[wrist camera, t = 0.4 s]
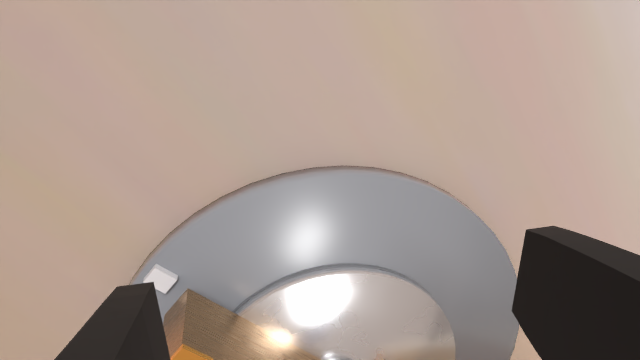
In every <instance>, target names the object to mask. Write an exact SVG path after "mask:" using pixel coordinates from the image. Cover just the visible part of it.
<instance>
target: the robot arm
mask: <svg viewBox="0 0 640 360" xmlns="http://www.w3.org/2000/svg"><path fill="white" fill-rule="evenodd" d="M512 313H513V314H514V316H515V318H516V319H517V321H518V323H519V324H520V326H521V328H522V329H523V331H524V333H525V334H526V336H527V338H528V339H529V341H530V342H531V344H532V345H533V347H534V348H535V350H536V352H537V353H538V355H539V356H540V357H541V359H542V360H640V255H637V254H634V253H632V252H629V251H626V250H624V249H621V248H618V247H616V246H613V245H610V244H608V243H605V242H602V241H599V240H597V239H594V238H591V237H588V236H585V235H582V234H579V233H576V232H573V231H570V230H567V229H563V228H559V227H556V226H549V227H542V228H535V229H528V230H526V233H525V239H524V244H523V250H522V255H521V261H520V266H519V272H518V277H517V283H516V289H515V294H514V300H513V305H512ZM54 360H171V359H170V355H169V350H168V345H167V341H166V336H165V332H164V327H163V323H162V318H161V313H160V309H159V304H158V300H157V295H156V290H155V286H154V282H148V283H141V284H134V285H127V286H119V287H116V289H115V290H114V291H113V292H112V293H111V294H110V295H109V297H108V298H107V299H106V300H105V301H104V302H103V303H102V305H101V306H100V307H99V308H98V309H97V310H96V312H95V313H94V314H93V315H92V316H91V318H90V319H89V320H88V321H87V322H86V323H85V325H84V326H83V327H82V328H81V329H80V331H79V332H78V333H77V334H76V335H75V336H74V338H73V339H72V340H71V341H70V342H69V343H68V345H67V346H66V347H65V348H64V349H63V350H62V352H61V353H60V354H59V355H58V356H57V357H56V358H55V359H54Z"/></svg>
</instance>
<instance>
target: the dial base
mask: <svg viewBox="0 0 640 360" xmlns="http://www.w3.org/2000/svg"><path fill="white" fill-rule="evenodd" d="M340 263H360V264H368V265H376V266H380V267H384V268H388V269H391V270H394V271H396V272H399V273H401V274H404V275H406V276H407V277H409V278H411V279H412V280H414V281H416V282H417V283H419V284H420V285H421V286H422V287H423V288H425V289H426V290H427V291H428V292H429V293H430V294H431V296H432V297H433V298H434V299H435V300H436V302H437V303H438V305H439V306H440V308H441V309H442V311H443V312H444V314H445V316H446V318H447V319H448V321H449V323H450V326H451V328H452V331H453V334H454V340H455V360H510V357H511V355H512V352H513V350H514V347H515V342H516V338H517V334H518V330H519V323H518V321H517V319H516V318H515V316H514V314H513V313H512V305H513V300H514V294H515V289H516V283H517V278H516V274H515V270H514V268H513V265H512V263H511V261H510V259H509V256H508V254H507V252H506V250H505V248H504V247H503V246H502V244H501V243H500V241H499V240H498V238H497V237H496V235H495V234H494V232H493V231H492V230H491V229H490V228H489V227H488V226H487V225H486V224H485V223H484V222H483V221H482V220H481V219H480V218H479V217H478V216H477V215H476V214H475V213H474V212H473V211H472V210H471V209H469V208H468V207H467V206H466V205H465V204H463V203H462V202H461V201H459V200H458V199H456V198H455V197H454V196H452V195H451V194H450V193H448V192H446V191H444V190H442V189H440V188H438V187H437V186H435V185H433V184H431V183H429V182H427V181H424V180H421V179H418V178H415V177H412V176H410V175H407V174H404V173H400V172H395V171H390V170H385V169H379V168H374V167H359V166H331V167H316V168H309V169H304V170H298V171H293V172H288V173H283V174H279V175H276V176H273V177H270V178H267V179H263V180H260V181H257V182H254V183H251V184H249V185H246V186H244V187H242V188H240V189H238V190H235V191H233V192H231V193H229V194H227V195H224V196H222V197H220V198H219V199H217V200H215V201H214V202H212V203H211V204H209V205H207V206H206V207H204V208H202V209H201V210H199V211H197V212H196V213H194V214H193V215H192V216H190V217H189V218H188V219H187V220H185V221H184V222H183V223H182V224H180V225H179V226H178V227H177V228H175V229H174V230H173V231H172V232H170V233H169V234H168V235H167V236H166V237H165V239H164V240H163V241H162V242H161V243H160V244H159V245H158V246H157V247H156V248H155V249H154V250H153V251H152V252H151V253H150V254H149V255H148V257H147V258H146V260H145V261H144V262H143V264H142V265H141V267H140V268H139V269H138V271H137V272H136V274H135V275H134V276H133V278H132V280H131V282H130V284H129V285H134V284H141V283H148V282H154V286H155V290H156V295H157V300H158V304H159V309H160V313H161V318H162V323H163V322H164V316H165V314H166V313H167V311H168V310H169V309H170V308H171V307H172V306H173V305H174V303H175V302H176V301H177V300H178V299H179V298H180V297H181V295H182V294H183V293H184V292H185V291H186V290H187V288H188V289H190V290H192V291H194V292H196V293H198V294H200V295H202V296H203V297H205V298H207V299H209V300H211V301H213V302H215V303H217V304H218V305H220V306H222V307H224V308H226V309H228V310H230V311H233V310H234V309H236V308H237V307H238V306H239V305H240V304H241V303H242V302H243V301H245V300H246V299H247V298H249V297H250V296H251V295H252V294H254V293H255V292H257V291H258V290H260V289H262V288H263V287H265V286H267V285H268V284H270V283H272V282H274V281H276V280H279V279H281V278H283V277H285V276H287V275H290V274H293V273H296V272H299V271H302V270H305V269H309V268H314V267H318V266H323V265H331V264H340Z"/></svg>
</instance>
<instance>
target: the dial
mask: <svg viewBox="0 0 640 360" xmlns="http://www.w3.org/2000/svg"><path fill="white" fill-rule="evenodd" d="M163 327H164V332H165V336H166V341H167V345H168V350H169V355H170V359H171V360H455V340H454V334H453V331H452V328H451V326H450V323H449V321H448V319H447V318H446V316H445V314H444V312H443V311H442V309H441V308H440V306H439V305H438V303H437V302H436V300H435V299H434V298H433V297H432V296H431V294H430V293H429V292H428V291H427V290H426V289H425V288H423V287H422V286H421V285H420V284H419V283H417V282H416V281H414V280H412V279H411V278H409V277H407V276H406V275H404V274H401V273H399V272H396V271H394V270H391V269H388V268H384V267H380V266H376V265H368V264H360V263H340V264H331V265H323V266H318V267H314V268H309V269H305V270H302V271H299V272H296V273H293V274H290V275H287V276H285V277H283V278H281V279H279V280H276V281H274V282H272V283H270V284H268V285H267V286H265V287H263V288H262V289H260V290H258V291H257V292H255V293H254V294H252V295H251V296H250V297H249V298H247V299H246V300H245V301H243V302H242V303H241V304H240V305H239V306H238V307H237V308H236V309H234V310H233V311H230V310H228V309H226V308H224V307H222V306H220V305H218V304H217V303H215V302H213V301H211V300H209V299H207V298H205V297H203V296H202V295H200V294H198V293H196V292H194V291H192V290H190V289H188V288H187V290H186V291H185V292H184V293H183V294H182V295H181V297H180V298H179V299H178V300H177V301H176V302H175V303H174V305H173V306H172V307H171V308H170V309H169V310H168V311H167V313H166V314H165V316H164V322H163Z"/></svg>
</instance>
